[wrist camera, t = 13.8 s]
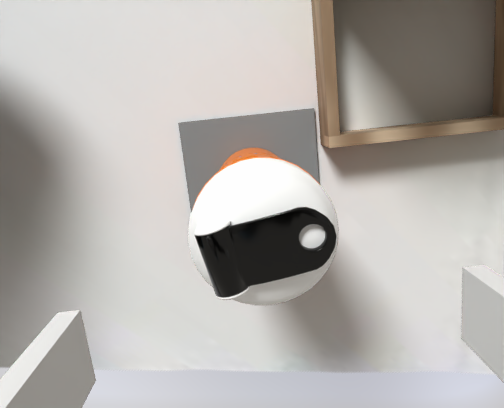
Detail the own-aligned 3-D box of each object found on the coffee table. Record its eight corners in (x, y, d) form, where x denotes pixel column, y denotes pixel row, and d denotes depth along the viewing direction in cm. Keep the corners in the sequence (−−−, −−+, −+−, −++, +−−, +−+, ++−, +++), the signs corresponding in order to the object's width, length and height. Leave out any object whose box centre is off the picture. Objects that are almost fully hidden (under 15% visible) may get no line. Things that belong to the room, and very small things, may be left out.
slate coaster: (197, 250, 43) (196, 251, 43) (178, 122, 40) (178, 123, 40) (322, 236, 43) (322, 237, 43) (313, 108, 40) (313, 108, 40)
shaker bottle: (312, 203, 42) (377, 288, 22) (232, 240, 42) (228, 355, 23) (275, 121, 40) (310, 136, 20) (192, 162, 40) (149, 214, 21)
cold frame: (320, 144, 41) (395, 178, 21) (308, -49, 37) (385, -222, 17) (514, 123, 41) (763, 138, 21) (522, -72, 37) (837, -269, 18)
